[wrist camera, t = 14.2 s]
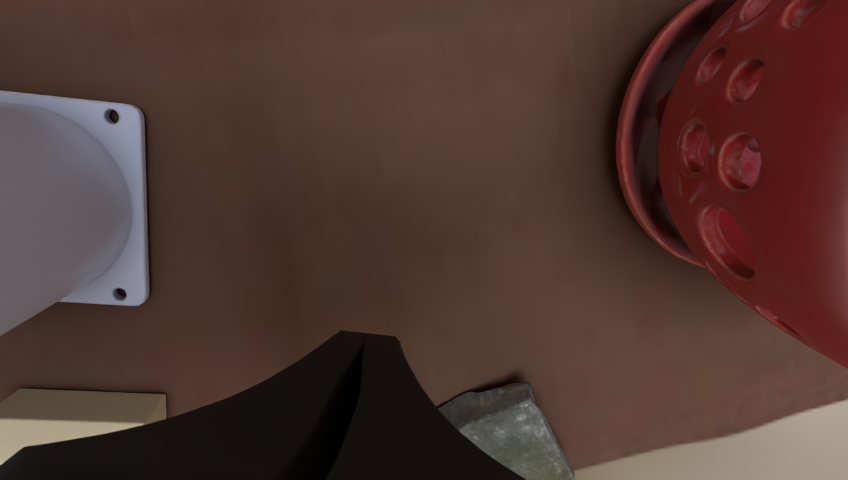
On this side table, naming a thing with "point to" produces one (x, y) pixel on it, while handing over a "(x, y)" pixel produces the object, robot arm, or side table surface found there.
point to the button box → (71, 415)
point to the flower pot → (749, 156)
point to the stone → (510, 431)
